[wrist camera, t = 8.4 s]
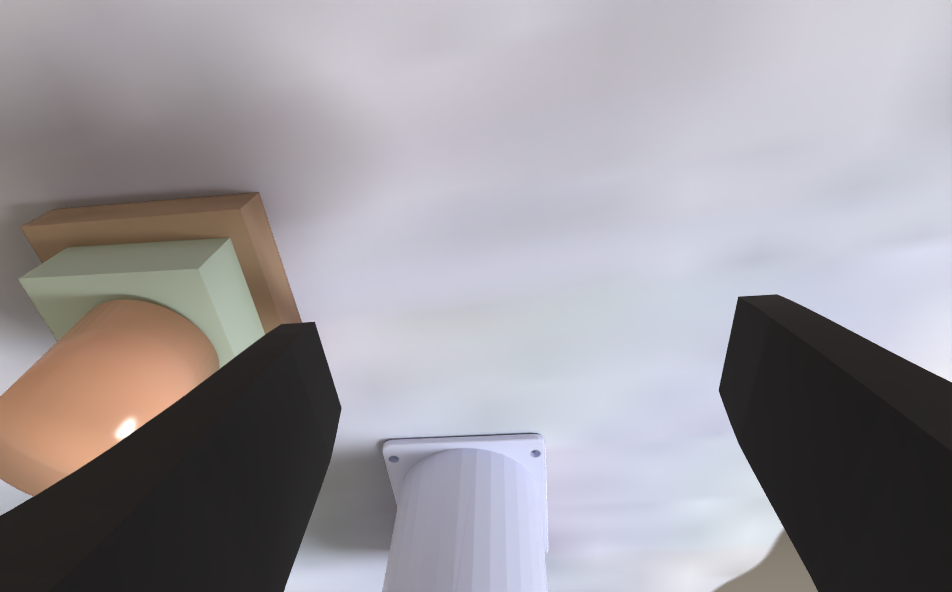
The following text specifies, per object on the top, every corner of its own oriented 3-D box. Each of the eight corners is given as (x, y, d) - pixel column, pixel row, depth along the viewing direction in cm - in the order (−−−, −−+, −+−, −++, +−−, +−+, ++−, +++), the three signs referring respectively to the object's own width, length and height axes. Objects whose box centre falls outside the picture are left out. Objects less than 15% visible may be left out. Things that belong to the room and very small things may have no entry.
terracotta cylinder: (213, 409, 19) (151, 523, 16) (83, 378, 18) (-16, 490, 15) (225, 323, 17) (154, 433, 13) (75, 281, 16) (-46, 387, 12)
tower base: (319, 353, 23) (304, 387, 21) (153, 363, 24) (124, 397, 22) (265, 186, 19) (240, 209, 17) (66, 203, 20) (20, 227, 18)
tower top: (278, 370, 21) (256, 409, 19) (138, 375, 21) (104, 415, 19) (229, 237, 18) (198, 268, 16) (67, 247, 18) (17, 278, 16)
